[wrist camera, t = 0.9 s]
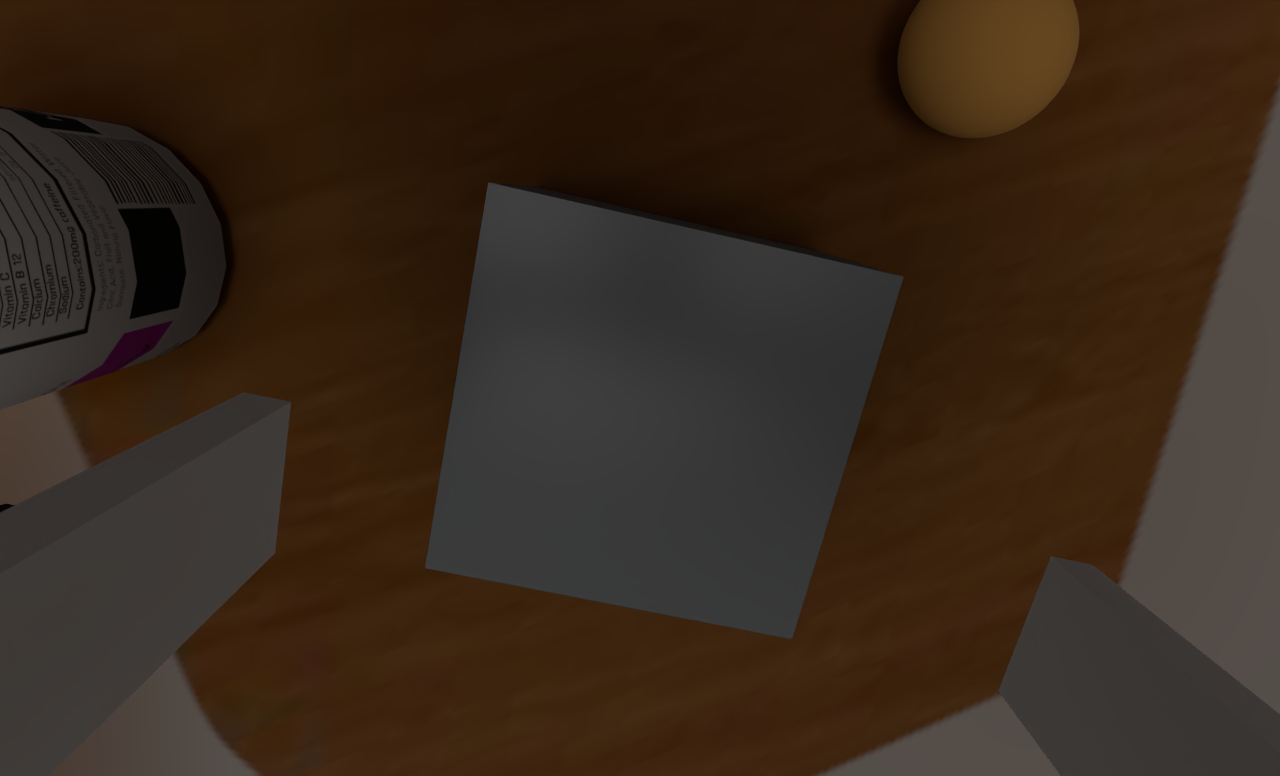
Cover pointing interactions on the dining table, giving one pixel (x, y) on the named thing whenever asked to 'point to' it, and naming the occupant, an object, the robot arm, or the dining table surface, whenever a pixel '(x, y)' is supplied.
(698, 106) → the dining table surface
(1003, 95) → the ball
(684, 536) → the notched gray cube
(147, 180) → the supplement can
